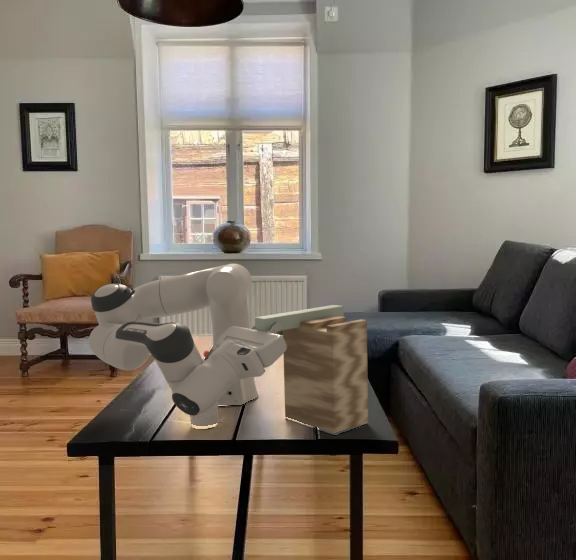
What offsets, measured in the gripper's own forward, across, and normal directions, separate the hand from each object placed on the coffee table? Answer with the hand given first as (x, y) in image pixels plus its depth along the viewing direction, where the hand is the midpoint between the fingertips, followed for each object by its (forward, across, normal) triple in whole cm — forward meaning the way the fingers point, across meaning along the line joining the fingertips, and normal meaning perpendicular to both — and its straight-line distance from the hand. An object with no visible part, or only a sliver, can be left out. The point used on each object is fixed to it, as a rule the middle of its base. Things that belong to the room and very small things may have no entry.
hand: (272, 323), depth 150 cm
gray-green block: (+8, 0, -6) cm, 10 cm away
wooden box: (-2, +4, -30) cm, 30 cm away
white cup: (-23, -15, -18) cm, 33 cm away
